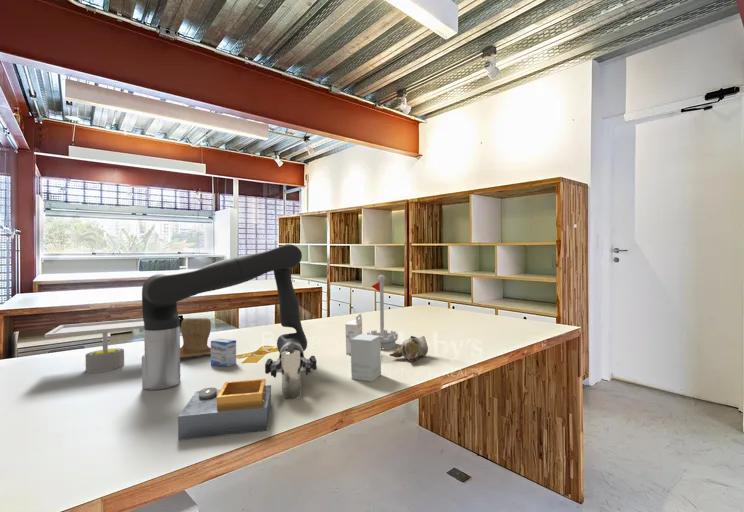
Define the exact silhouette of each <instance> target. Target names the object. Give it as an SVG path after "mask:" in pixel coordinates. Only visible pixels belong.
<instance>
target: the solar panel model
mask: <svg viewBox="0 0 744 512" xmlns="http://www.w3.org/2000/svg"><path fill="white" fill-rule="evenodd" d="M139 329H140V330H141V329H144V321H143V318H133V319H122V320H121V319H120V320H119V319H118V320H109V321H98V322H97V321H96V322H84V323H71V324H60V325H58V326H57V327H55V328H53V329H51V330H50V331H48V332H47V333H45V334H44V338H52V337H63V336H65V337H66V336H76V335H85V334H97V333H98V334H99V333H102V349H100V350H99V349H98V350H94V351H90V352H87V353H86V354H85V372H87V373H99V372H106V371H107V372H108V371H112V370H116V369H119V368H122V367H124V366H125V349H124V348H118V347H117V348H108V347H109V346H108V341H109V340H108V337H109V336H108V332H119V331H129V330H139Z"/></svg>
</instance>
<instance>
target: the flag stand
mask: <svg viewBox="0 0 744 512" xmlns="http://www.w3.org/2000/svg"><path fill="white" fill-rule="evenodd" d="M377 280H378V282H376V283H375V284H373V285H371V287H372V288H373V289H375V290H376V291H378V292H379V320H380V321H379V323H380V324H379V325H380V326H379V327H380V328H379V331H380V332H378V330H376V329H375V330H371V331H368V332H366V335H376V336H380V348H390V349H392V348H391V347H393V348H395V347H396V342H397V341H398V336H399V335H398V332H397V331H395V330H390V332H388V329H385V326H384V325H385V322H384V321H385V320H384V319H385V317H384V316H385V312H384V311H385V307H384V305H385V304H384V281H385V280H386V277H385V275H383V274H380V275H378V277H377ZM394 346H395V347H394Z"/></svg>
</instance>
